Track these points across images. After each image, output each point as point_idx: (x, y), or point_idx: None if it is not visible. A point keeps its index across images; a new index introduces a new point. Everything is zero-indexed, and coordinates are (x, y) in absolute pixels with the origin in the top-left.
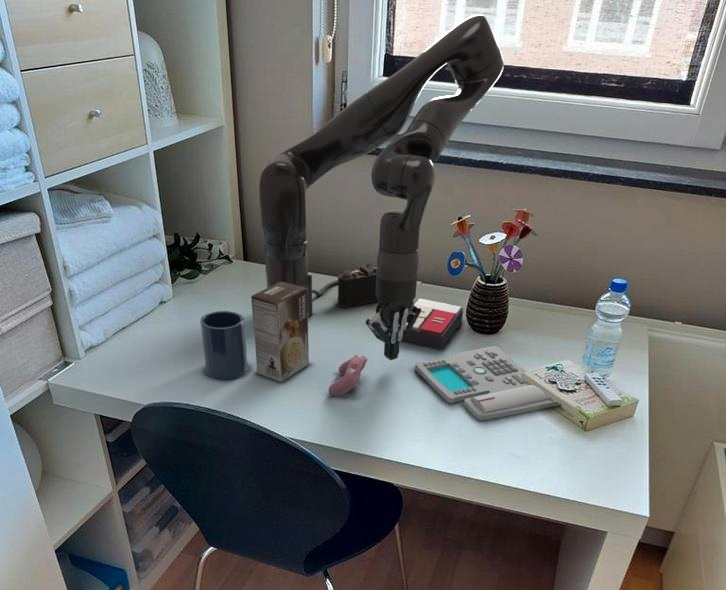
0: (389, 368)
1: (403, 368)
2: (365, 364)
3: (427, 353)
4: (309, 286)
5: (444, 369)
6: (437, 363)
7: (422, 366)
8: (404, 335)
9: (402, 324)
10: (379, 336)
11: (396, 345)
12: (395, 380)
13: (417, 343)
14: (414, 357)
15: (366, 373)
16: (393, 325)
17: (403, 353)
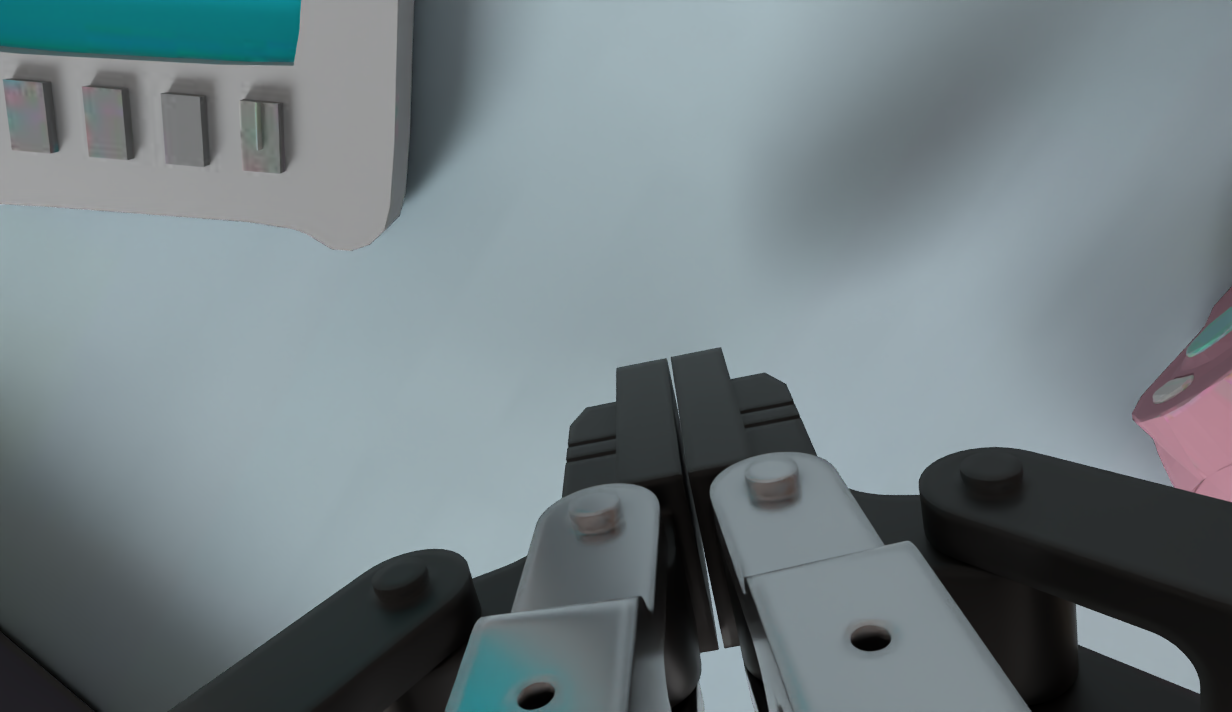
0: None
1: (515, 310)
2: (1224, 333)
3: (66, 494)
4: None
5: (26, 1)
6: (74, 106)
7: (325, 125)
8: None
9: (587, 704)
10: (1073, 650)
11: (669, 450)
12: (773, 89)
13: (87, 708)
14: (259, 476)
15: (977, 390)
16: (1009, 689)
17: None
